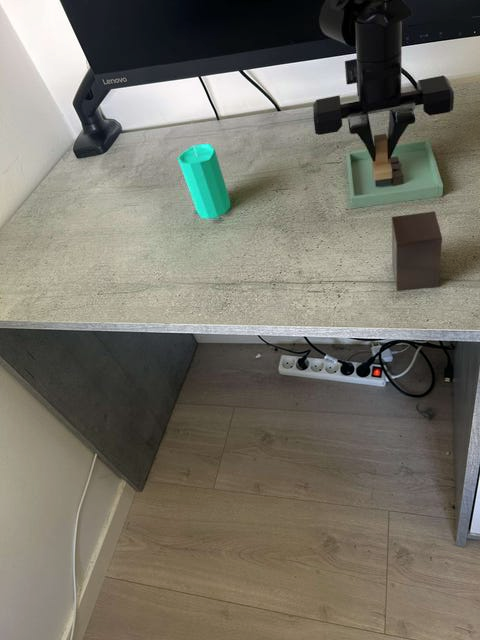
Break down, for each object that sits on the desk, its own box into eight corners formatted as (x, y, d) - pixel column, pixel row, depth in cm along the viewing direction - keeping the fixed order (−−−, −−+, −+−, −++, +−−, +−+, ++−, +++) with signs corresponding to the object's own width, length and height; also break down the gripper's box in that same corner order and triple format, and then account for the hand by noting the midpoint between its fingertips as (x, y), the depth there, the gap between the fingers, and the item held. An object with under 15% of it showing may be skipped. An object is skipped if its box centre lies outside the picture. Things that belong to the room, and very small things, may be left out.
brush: (371, 166, 80) (369, 128, 75) (387, 163, 79) (387, 125, 75) (375, 187, 76) (373, 149, 71) (392, 185, 75) (392, 146, 71)
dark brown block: (431, 260, 64) (435, 211, 59) (438, 287, 61) (442, 237, 55) (392, 264, 66) (391, 216, 60) (396, 291, 62) (396, 243, 56)
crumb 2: (401, 172, 78) (401, 163, 77) (400, 177, 77) (400, 169, 76) (391, 172, 78) (391, 163, 77) (389, 178, 77) (389, 169, 76)
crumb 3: (400, 178, 77) (400, 169, 76) (403, 184, 76) (403, 175, 74) (390, 180, 77) (390, 172, 76) (393, 186, 76) (392, 177, 75)
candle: (201, 223, 82) (178, 160, 74) (194, 204, 86) (172, 142, 78) (234, 211, 82) (215, 146, 74) (226, 193, 86) (207, 130, 78)
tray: (428, 149, 81) (428, 138, 79) (442, 196, 72) (443, 185, 71) (346, 162, 84) (346, 152, 83) (351, 208, 75) (350, 198, 74)
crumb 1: (397, 164, 79) (397, 156, 78) (399, 170, 78) (399, 161, 77) (387, 166, 80) (387, 157, 78) (389, 172, 79) (388, 163, 77)
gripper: (442, 15, 67) (436, 122, 79) (307, 45, 72) (319, 142, 83) (459, 47, 60) (449, 159, 71) (308, 77, 64) (321, 179, 76)
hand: (381, 158), depth 76 cm, fingers closed on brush, 2 cm apart
